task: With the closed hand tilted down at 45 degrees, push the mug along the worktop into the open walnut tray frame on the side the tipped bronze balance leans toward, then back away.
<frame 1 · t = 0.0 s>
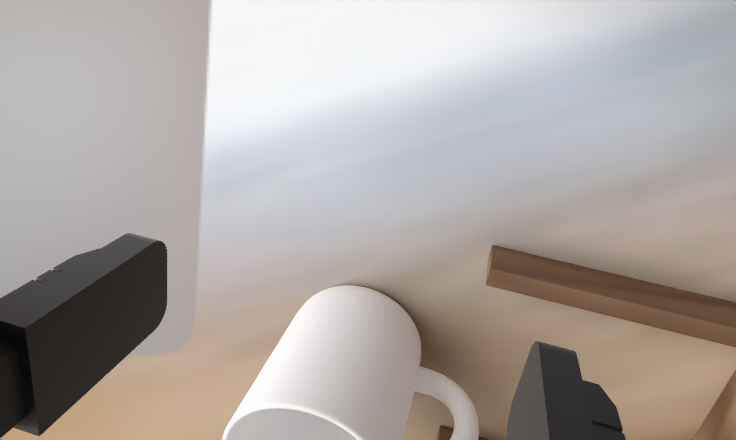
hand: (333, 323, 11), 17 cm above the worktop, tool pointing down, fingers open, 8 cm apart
mug: (388, 341, 33), on the worktop
tray frame: (588, 385, 31), on the worktop
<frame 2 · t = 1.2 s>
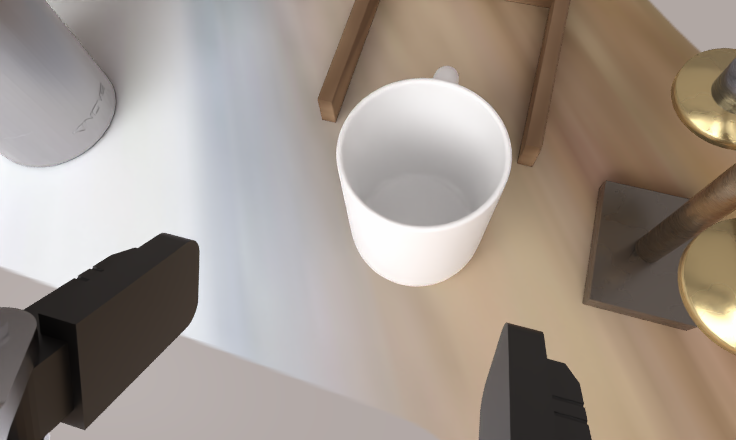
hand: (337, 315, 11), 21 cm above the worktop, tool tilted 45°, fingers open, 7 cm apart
mug: (422, 204, 35), on the worktop
tray frame: (448, 57, 39), on the worktop
balance: (640, 255, 33), on the worktop
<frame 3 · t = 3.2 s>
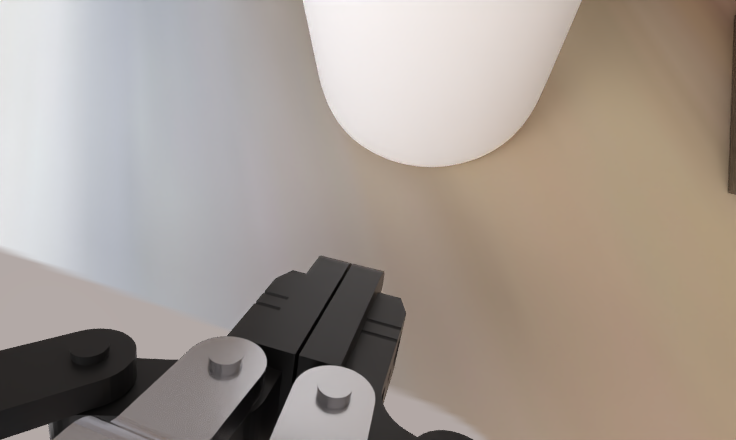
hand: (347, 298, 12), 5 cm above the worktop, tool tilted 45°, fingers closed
mug: (439, 46, 21), on the worktop
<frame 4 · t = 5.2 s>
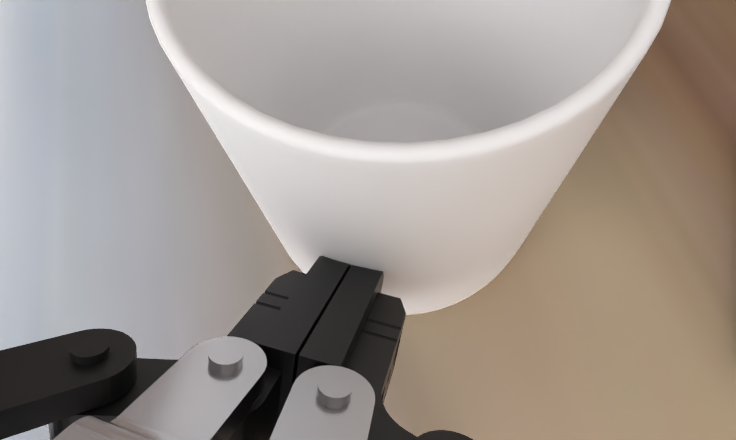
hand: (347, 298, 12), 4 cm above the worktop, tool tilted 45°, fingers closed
mug: (412, 155, 19), on the worktop, touching gripper
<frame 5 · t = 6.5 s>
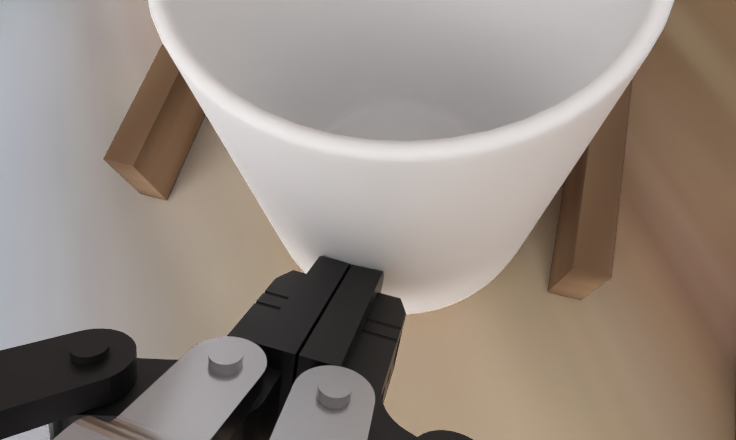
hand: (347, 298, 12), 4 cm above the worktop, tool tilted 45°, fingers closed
mug: (413, 154, 19), on the worktop, touching gripper
tray frame: (401, 62, 20), on the worktop
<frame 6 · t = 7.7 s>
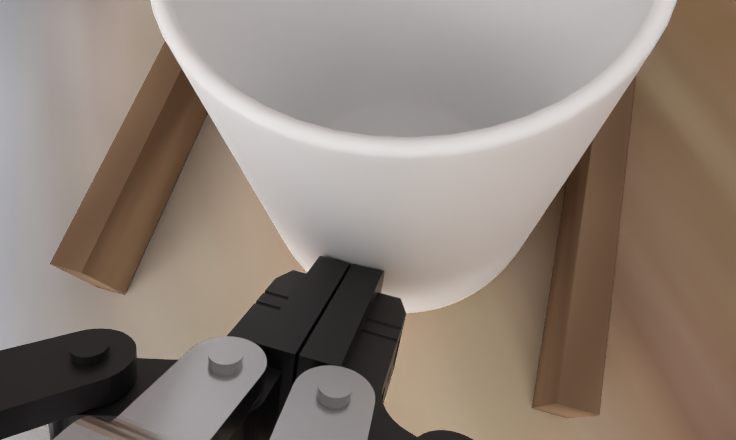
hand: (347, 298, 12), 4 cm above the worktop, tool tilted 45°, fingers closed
mug: (415, 153, 18), on the worktop, touching gripper
tray frame: (379, 139, 19), on the worktop
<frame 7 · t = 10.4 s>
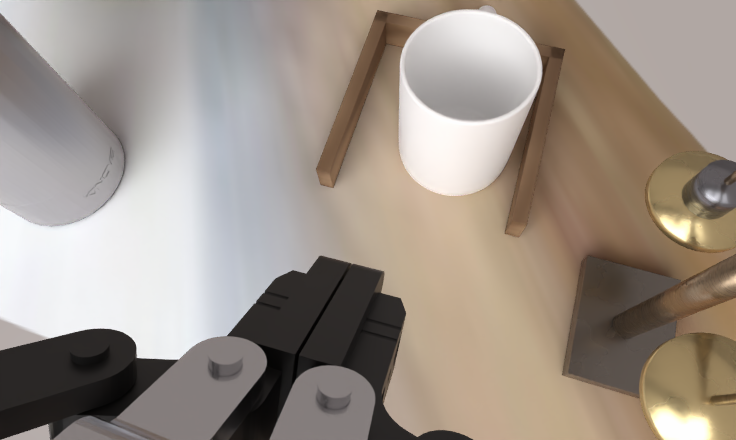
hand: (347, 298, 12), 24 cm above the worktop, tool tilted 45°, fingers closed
mug: (458, 131, 41), on the worktop
tray frame: (442, 125, 41), on the worktop
balance: (618, 328, 35), on the worktop
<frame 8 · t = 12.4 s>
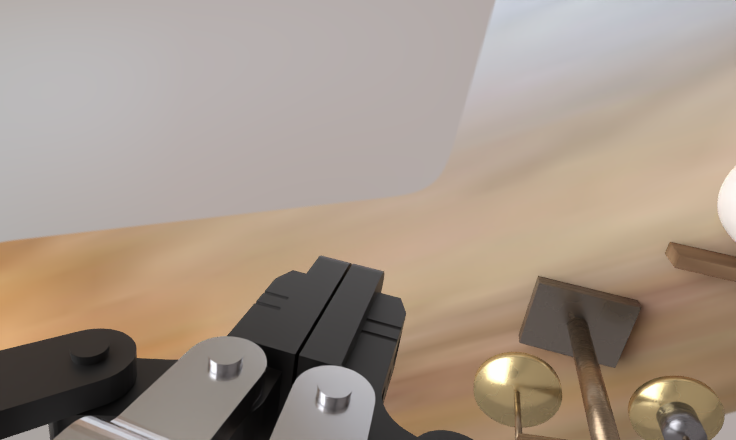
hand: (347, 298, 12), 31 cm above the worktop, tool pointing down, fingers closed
balance: (575, 318, 44), on the worktop
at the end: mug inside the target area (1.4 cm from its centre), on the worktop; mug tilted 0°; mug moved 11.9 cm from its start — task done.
